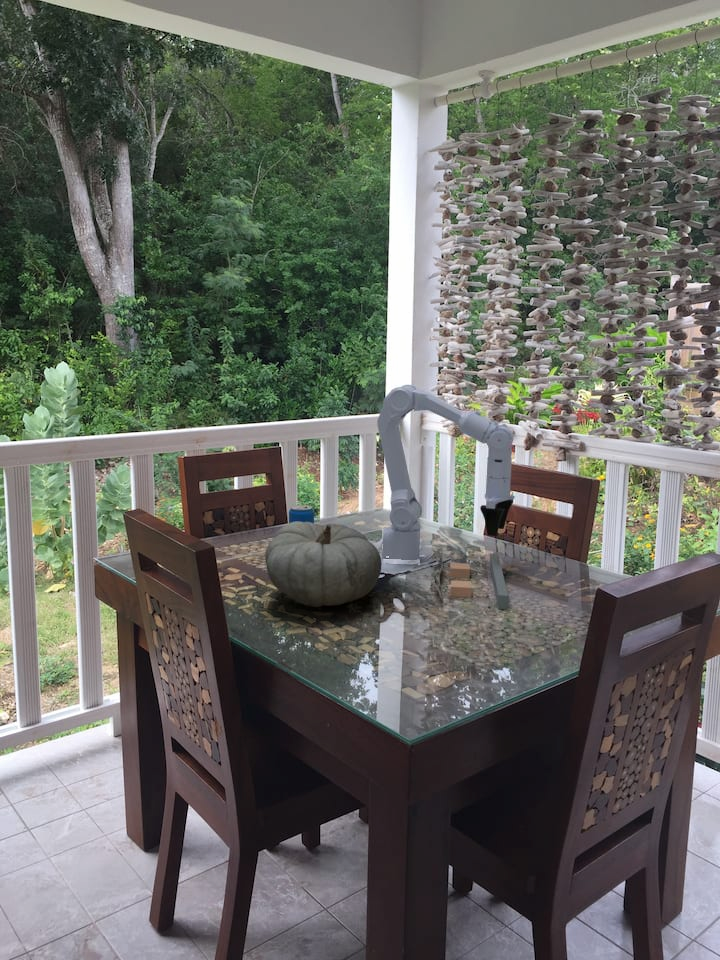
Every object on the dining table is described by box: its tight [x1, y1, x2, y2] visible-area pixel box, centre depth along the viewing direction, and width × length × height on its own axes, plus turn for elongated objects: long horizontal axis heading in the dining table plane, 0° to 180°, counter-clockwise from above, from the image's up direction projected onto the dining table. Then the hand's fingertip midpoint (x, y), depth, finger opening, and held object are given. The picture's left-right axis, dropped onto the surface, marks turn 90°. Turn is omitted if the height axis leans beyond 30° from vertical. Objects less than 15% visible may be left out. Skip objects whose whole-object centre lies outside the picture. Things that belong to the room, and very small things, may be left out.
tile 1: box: [450, 580, 473, 599], centre depth 181 cm, size 4×4×2 cm
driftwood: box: [433, 547, 445, 605], centre depth 188 cm, size 37×2×5 cm, turn 175°
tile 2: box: [449, 562, 471, 579], centre depth 195 cm, size 4×4×2 cm
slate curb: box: [489, 553, 509, 610], centre depth 187 cm, size 2×32×3 cm, turn 174°
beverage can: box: [288, 504, 315, 524], centre depth 212 cm, size 6×6×12 cm
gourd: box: [264, 521, 383, 608], centre depth 175 cm, size 25×25×17 cm
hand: (495, 531), depth 199 cm, fingers open, 7 cm apart
